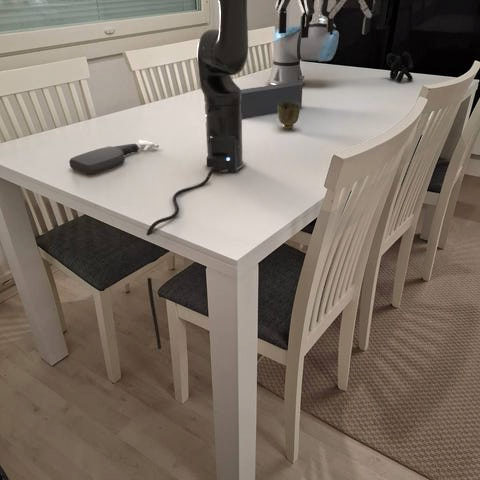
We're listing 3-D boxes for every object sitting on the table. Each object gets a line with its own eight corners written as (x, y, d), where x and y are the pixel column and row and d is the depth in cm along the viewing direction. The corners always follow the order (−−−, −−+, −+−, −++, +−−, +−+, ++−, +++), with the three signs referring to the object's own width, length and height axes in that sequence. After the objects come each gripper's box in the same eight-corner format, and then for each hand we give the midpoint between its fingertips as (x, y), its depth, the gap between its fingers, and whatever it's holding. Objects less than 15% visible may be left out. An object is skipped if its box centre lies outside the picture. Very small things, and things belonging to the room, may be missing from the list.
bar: (240, 119, 155) (239, 93, 151) (233, 115, 159) (233, 90, 154) (301, 108, 165) (302, 84, 160) (294, 105, 169) (295, 81, 164)
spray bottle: (67, 168, 120) (139, 144, 136) (91, 178, 114) (163, 151, 130) (65, 157, 118) (137, 134, 134) (89, 167, 112) (162, 142, 128)
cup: (272, 130, 144) (273, 105, 139) (281, 123, 149) (282, 99, 145) (294, 133, 141) (295, 108, 136) (302, 126, 146) (304, 102, 142)
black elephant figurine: (400, 92, 202) (376, 71, 205) (417, 76, 202) (392, 56, 205) (405, 81, 191) (380, 59, 194) (423, 64, 191) (397, 42, 194)
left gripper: (326, -40, 103) (321, 36, 112) (389, -41, 102) (378, 36, 111) (323, -40, 109) (318, 32, 118) (381, -41, 109) (372, 32, 117)
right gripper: (329, -39, 133) (323, 38, 144) (284, -38, 152) (282, 30, 163) (308, -38, 130) (304, 40, 141) (265, -38, 149) (265, 32, 160)
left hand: (347, 34), depth 115 cm, fingers open, 8 cm apart
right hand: (292, 35), depth 152 cm, fingers open, 13 cm apart
